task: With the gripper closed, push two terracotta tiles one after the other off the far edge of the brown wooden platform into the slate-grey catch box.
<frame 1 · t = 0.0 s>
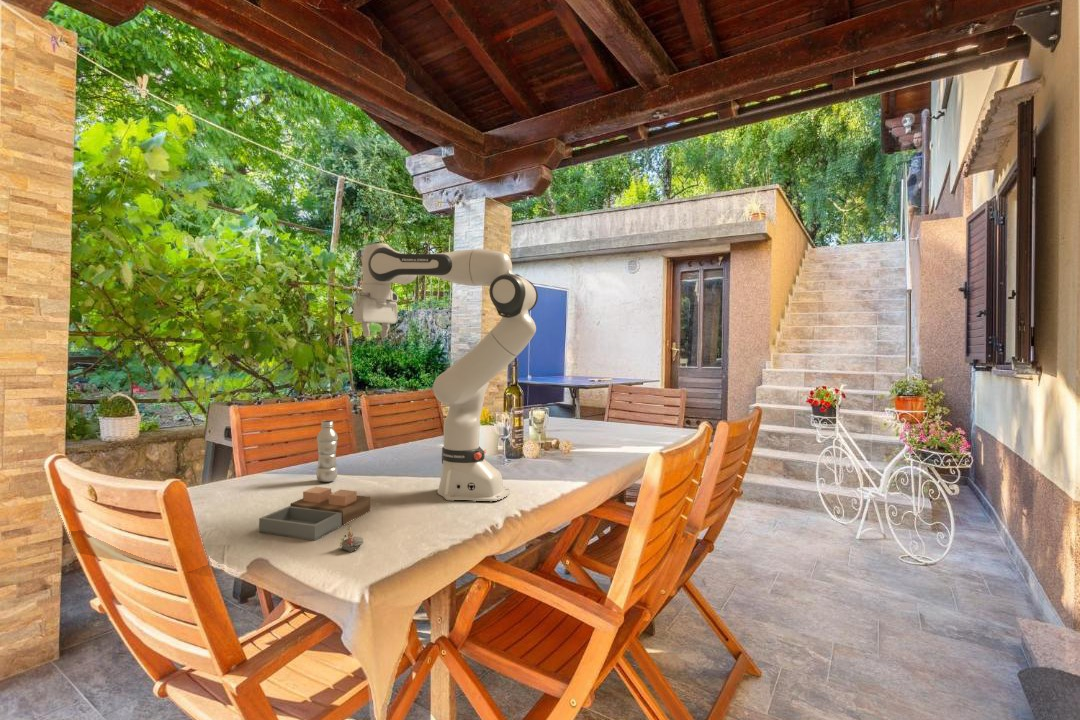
hand: (375, 336, 173), 48 cm above the table, tool pointing down, fingers open, 8 cm apart
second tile: (317, 499, 144), point 4 cm above the table, touching brown wooden platform
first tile: (342, 502, 142), point 4 cm above the table, touching brown wooden platform
catch box: (301, 529, 132), on the table
brown wooden platform: (331, 514, 143), on the table
plastic bottle: (326, 482, 175), on the table
figurine: (351, 550, 121), on the table
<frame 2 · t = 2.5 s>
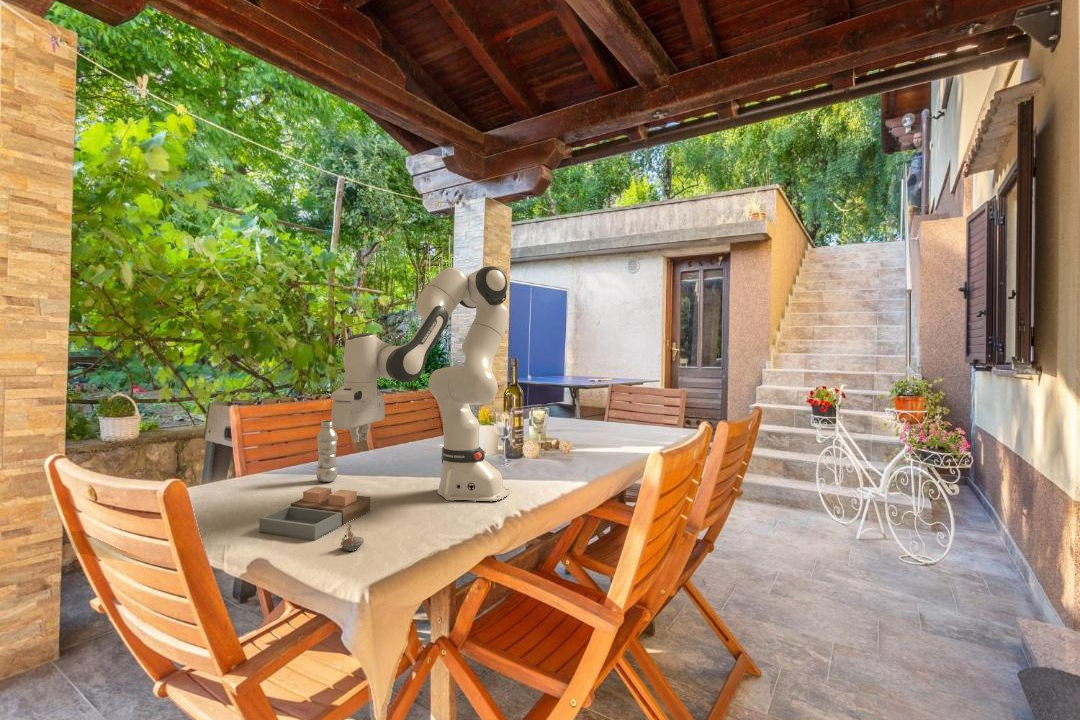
hand: (360, 440, 148), 19 cm above the table, tool pointing down, fingers closed
nothing on the table moved.
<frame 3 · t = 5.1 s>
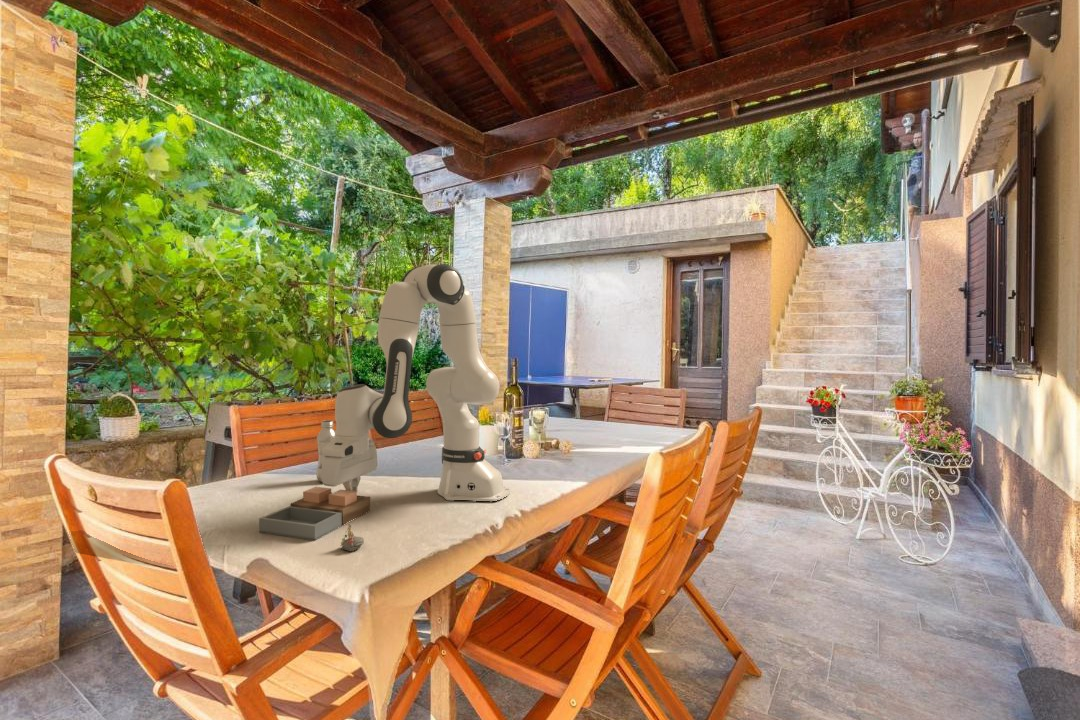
hand: (351, 494, 146), 5 cm above the table, tool pointing down, fingers closed
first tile: (342, 502, 142), point 4 cm above the table, touching gripper, brown wooden platform
everything else where it was.
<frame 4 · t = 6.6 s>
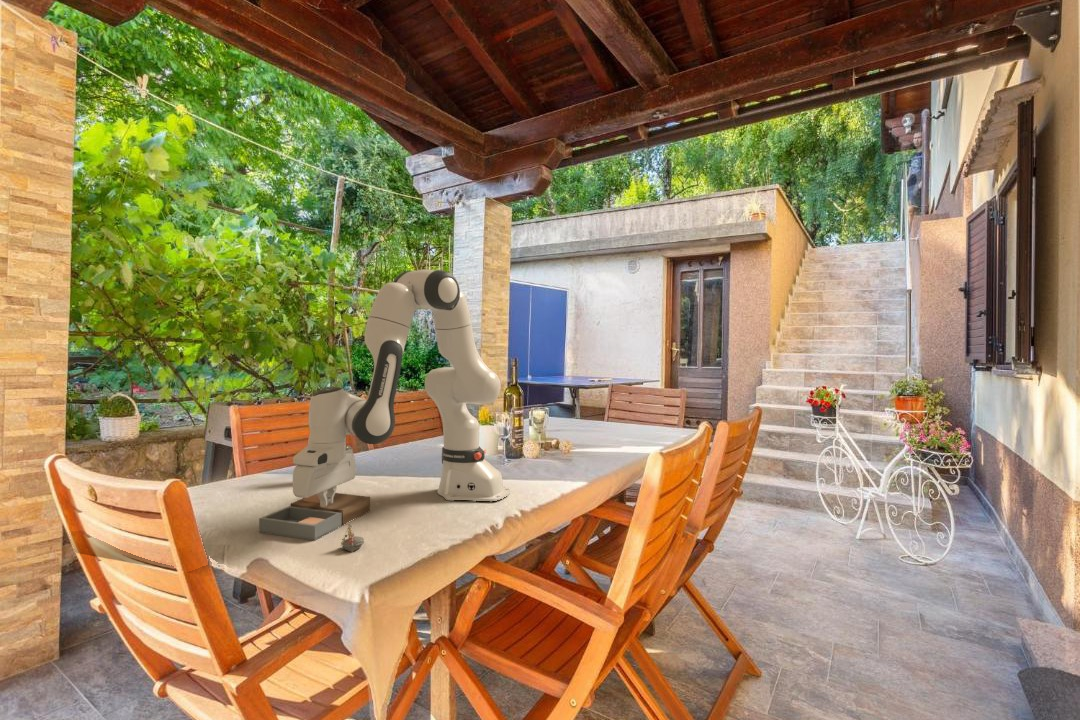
hand: (326, 505, 135), 5 cm above the table, tool pointing down, fingers closed
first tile: (310, 521, 130), point 3 cm above the table, tilted 180°, touching catch box
everything else where it was.
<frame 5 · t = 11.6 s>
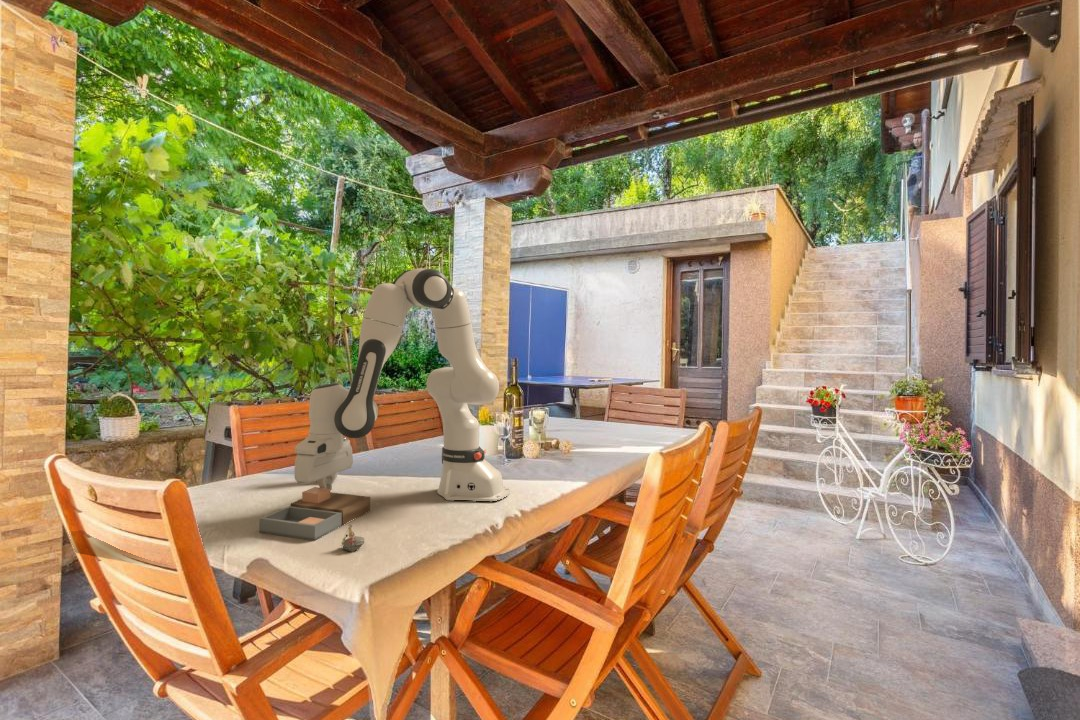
hand: (325, 491, 147), 5 cm above the table, tool pointing down, fingers closed
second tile: (316, 499, 144), point 4 cm above the table, touching gripper, brown wooden platform
everything else where it was.
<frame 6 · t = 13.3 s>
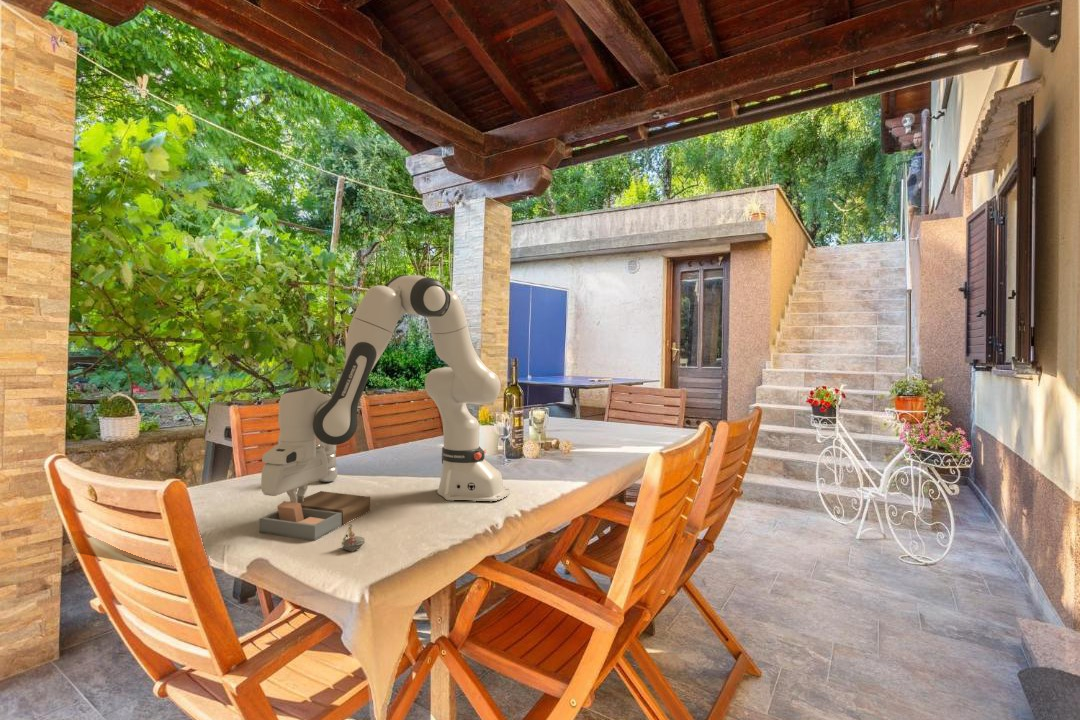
hand: (297, 503, 137), 5 cm above the table, tool pointing down, fingers closed
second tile: (294, 510, 135), point 4 cm above the table, tilted 105°, touching catch box
everything else where it was.
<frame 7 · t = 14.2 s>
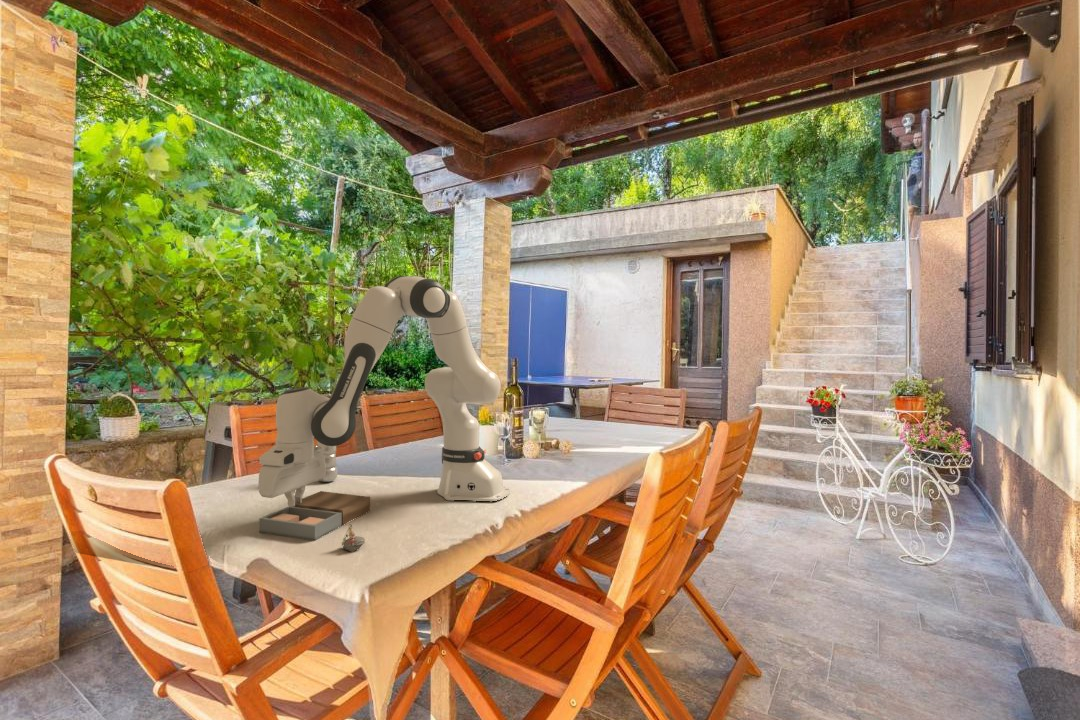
hand: (294, 505, 136), 5 cm above the table, tool pointing down, fingers closed
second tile: (283, 517, 132), point 3 cm above the table, tilted 180°, touching catch box
everything else where it was.
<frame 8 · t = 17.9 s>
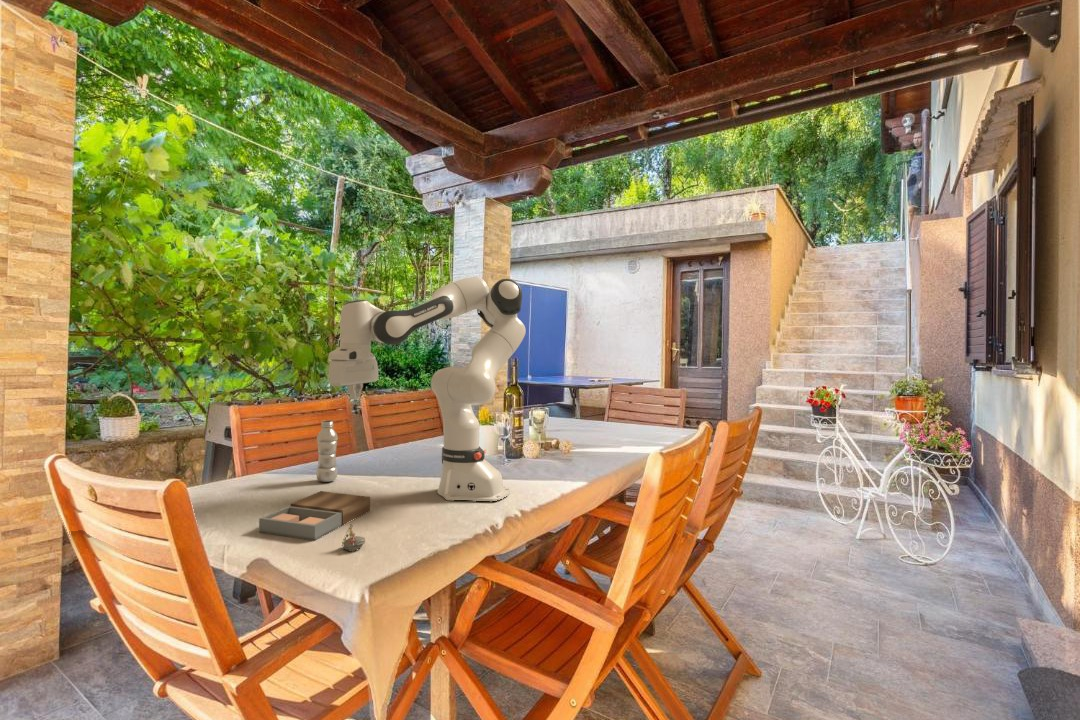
hand: (355, 398, 162), 29 cm above the table, tool pointing down, fingers closed
nothing on the table moved.
at the end: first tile inside the target area (4.2 cm from its centre), point 3.0 cm above the table; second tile inside the target area (4.1 cm from its centre), point 3.0 cm above the table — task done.
